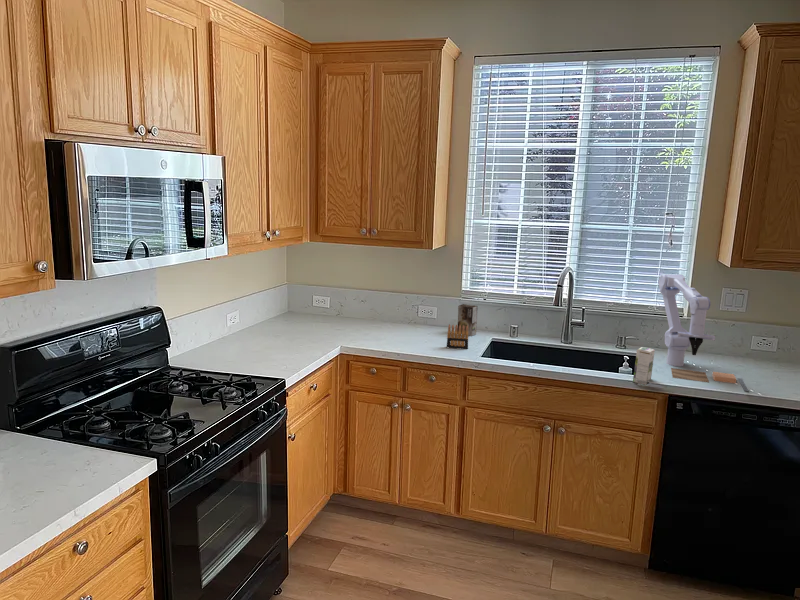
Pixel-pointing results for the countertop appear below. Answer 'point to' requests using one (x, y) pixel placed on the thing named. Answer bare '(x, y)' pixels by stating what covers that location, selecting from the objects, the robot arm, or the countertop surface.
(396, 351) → the countertop surface
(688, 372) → the walnut deck
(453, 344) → the ammunition clip
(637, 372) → the syrup box
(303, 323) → the countertop surface
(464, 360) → the countertop surface
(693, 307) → the robot arm
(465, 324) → the coffee box
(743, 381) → the slate mat
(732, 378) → the terracotta tile
